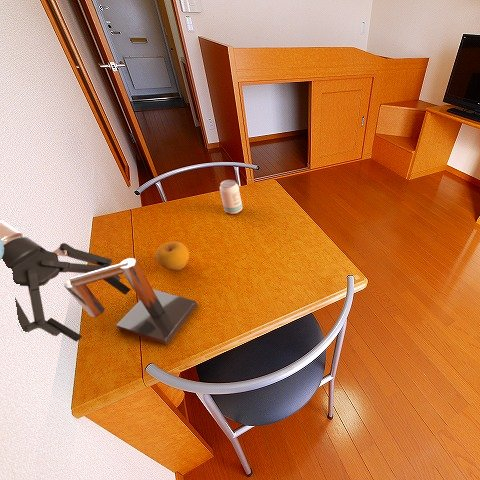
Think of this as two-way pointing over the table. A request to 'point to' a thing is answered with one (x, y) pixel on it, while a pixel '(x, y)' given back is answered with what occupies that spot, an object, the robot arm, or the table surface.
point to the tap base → (158, 318)
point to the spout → (125, 267)
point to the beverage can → (231, 196)
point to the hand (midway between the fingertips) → (105, 313)
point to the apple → (172, 255)
